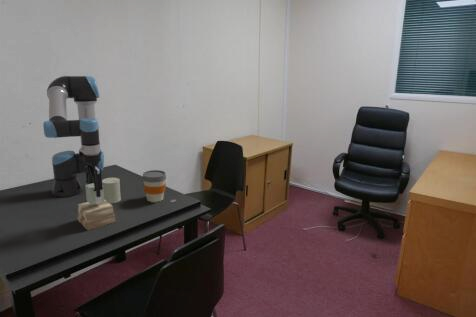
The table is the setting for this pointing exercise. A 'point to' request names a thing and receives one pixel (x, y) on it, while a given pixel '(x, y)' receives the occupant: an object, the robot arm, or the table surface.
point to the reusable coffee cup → (154, 185)
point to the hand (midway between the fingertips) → (95, 200)
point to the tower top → (95, 210)
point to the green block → (92, 193)
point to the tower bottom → (96, 221)
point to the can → (111, 190)
